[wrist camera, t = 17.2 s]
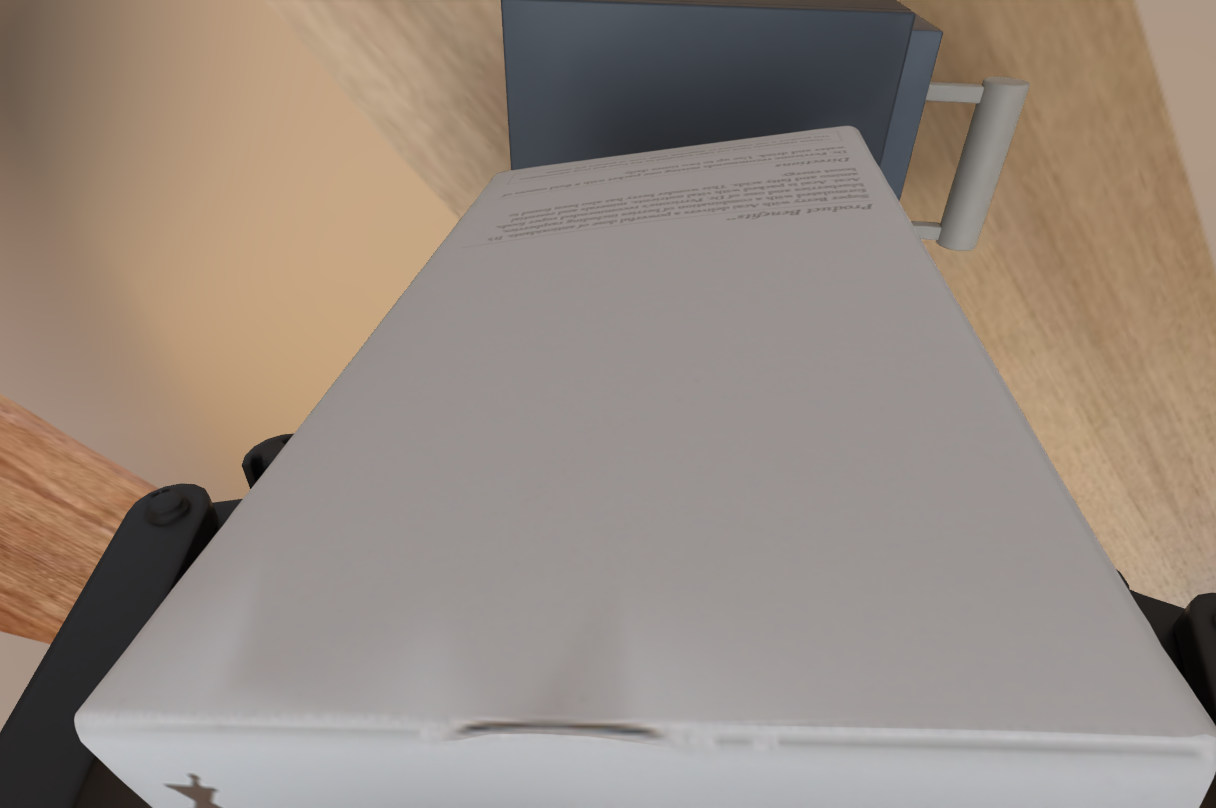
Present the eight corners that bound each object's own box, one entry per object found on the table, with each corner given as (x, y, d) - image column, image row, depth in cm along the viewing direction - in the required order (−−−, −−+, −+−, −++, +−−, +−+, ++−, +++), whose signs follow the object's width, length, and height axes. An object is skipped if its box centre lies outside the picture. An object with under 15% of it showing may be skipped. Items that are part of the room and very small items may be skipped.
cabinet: (869, -18, 31) (917, 13, 23) (818, 240, 37) (841, 331, 30) (555, -29, 32) (500, -3, 24) (560, 222, 39) (518, 304, 31)
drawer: (1006, 5, 30) (1081, 36, 23) (935, 243, 36) (979, 318, 29) (603, -9, 31) (572, 16, 25) (600, 220, 37) (574, 287, 31)
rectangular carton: (560, 446, 23) (376, 1059, 11) (489, 166, 18) (8, 721, 6) (858, 432, 21) (1030, 1152, 9) (870, 117, 16) (1288, 775, 4)
